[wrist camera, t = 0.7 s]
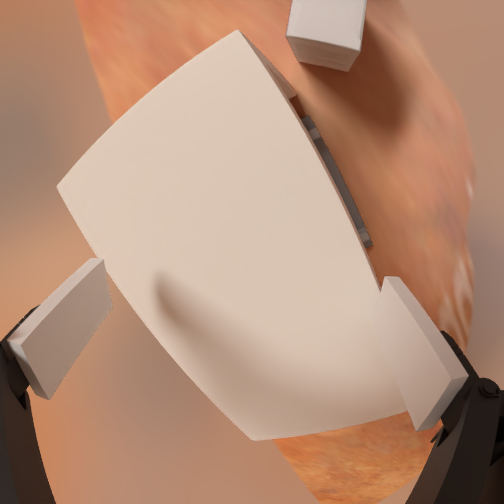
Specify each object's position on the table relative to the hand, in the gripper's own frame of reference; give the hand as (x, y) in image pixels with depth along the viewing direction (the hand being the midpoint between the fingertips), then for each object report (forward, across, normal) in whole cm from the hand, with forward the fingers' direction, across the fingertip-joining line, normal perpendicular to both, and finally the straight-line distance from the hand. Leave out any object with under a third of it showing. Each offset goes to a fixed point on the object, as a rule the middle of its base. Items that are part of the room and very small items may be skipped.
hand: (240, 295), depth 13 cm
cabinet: (+21, +4, -1) cm, 22 cm away
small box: (+20, +7, +18) cm, 28 cm away
